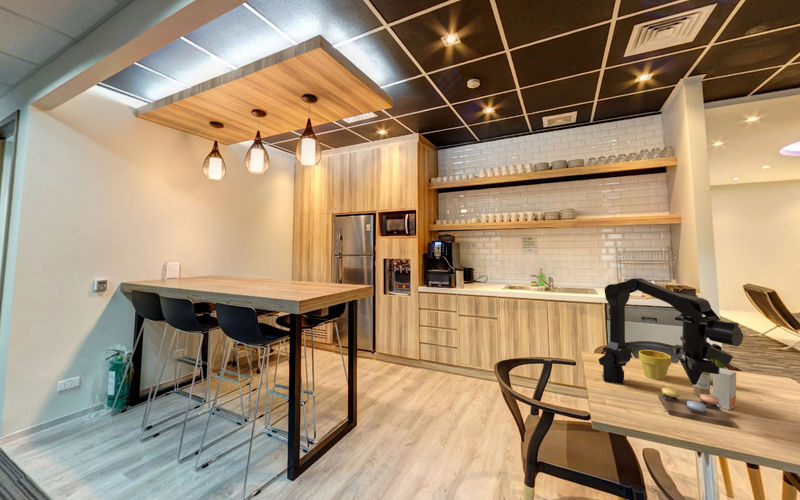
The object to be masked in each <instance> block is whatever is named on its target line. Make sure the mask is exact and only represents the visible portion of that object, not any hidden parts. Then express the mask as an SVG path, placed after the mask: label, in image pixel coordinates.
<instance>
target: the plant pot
mask: <svg viewBox="0 0 800 500" xmlns="http://www.w3.org/2000/svg"><path fill="white" fill-rule="evenodd" d="M638 359H639V361H640V362H641V367H642V370H643V375H644V376H645V377H647V378H649V379H651V380H654V381H664V380H666V376H667V374H668V370H669V367H670V366H671V365H672V357H671V355H669V353H668V354H667V353H665V352H662V351H658V350H657V351H656V350H650V349H642V350H639V351H638Z"/></svg>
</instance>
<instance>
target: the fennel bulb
mask: <svg viewBox="0 0 800 500" xmlns="http://www.w3.org/2000/svg"><path fill="white" fill-rule="evenodd" d="M711 361H712V362H713V363H714V364H716V365H717V366H718V367H719V368H723V369H725V364H724V363H723V362H720V361H717V360H715V359H713V358H711ZM710 386H713V373H710Z"/></svg>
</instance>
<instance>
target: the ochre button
mask: <svg viewBox="0 0 800 500" xmlns="http://www.w3.org/2000/svg"><path fill="white" fill-rule="evenodd" d="M661 394H665V395H666V396H667V397H669V398H674V397H678V398H680V392H679V390H678V391H677V390H676V389H673V388H669V387H661Z"/></svg>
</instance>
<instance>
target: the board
mask: <svg viewBox="0 0 800 500" xmlns="http://www.w3.org/2000/svg"><path fill="white" fill-rule="evenodd" d="M658 400H659V401H660V403H661V404H662V406H663V408H664V409H665V412H667V414H668V415H670V416H674V417H680V418H684V419H689V420H694V421H700V422H704V423H710V424H714V425H720V426H725V427H729V428H734V422H733V420H732V419H731V418H730V417H729V416H728V415H727V414H726V413H725V412H724V411H723V410H722V409H721V407H718V406H717V405H716V404H714V405H708V404H706V403H705V402H704V401H702V400H701V399H700V400H694V399H688V398H683V397H674V398H669V397H667V396H666V395H665V394H663V393H661V394H660V393H658ZM687 401H695V402H699V403H702V404H704V405H705V406H706V411H704V412H701V411H696V410H692V409H691V408H689V407H687Z"/></svg>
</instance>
